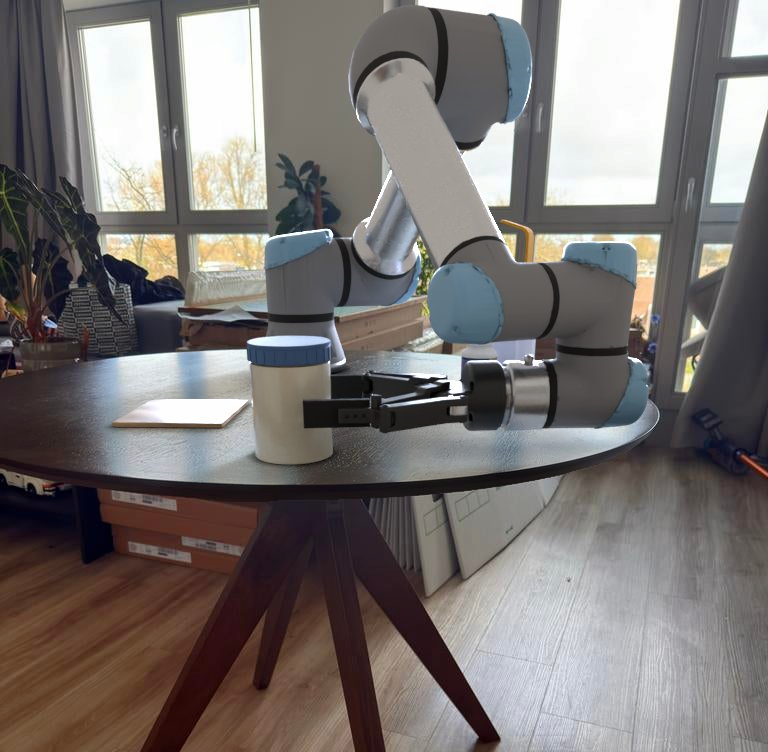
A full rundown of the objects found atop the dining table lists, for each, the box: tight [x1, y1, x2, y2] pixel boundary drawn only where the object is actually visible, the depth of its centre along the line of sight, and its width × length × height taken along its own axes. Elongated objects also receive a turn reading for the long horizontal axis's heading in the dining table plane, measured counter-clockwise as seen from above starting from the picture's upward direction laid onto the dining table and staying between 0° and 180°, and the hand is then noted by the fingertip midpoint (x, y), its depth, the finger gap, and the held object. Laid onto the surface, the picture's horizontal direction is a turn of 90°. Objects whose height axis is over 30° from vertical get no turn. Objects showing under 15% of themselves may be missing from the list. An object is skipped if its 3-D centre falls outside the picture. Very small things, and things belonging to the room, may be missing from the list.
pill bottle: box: [460, 342, 497, 378], centre depth 107 cm, size 5×5×9 cm
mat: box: [111, 398, 249, 429], centre depth 97 cm, size 14×14×1 cm
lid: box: [246, 336, 332, 366], centre depth 75 cm, size 9×9×2 cm
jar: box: [248, 360, 334, 465], centre depth 77 cm, size 8×8×12 cm
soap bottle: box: [492, 219, 537, 365], centre depth 113 cm, size 9×9×25 cm
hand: (304, 399), depth 77 cm, fingers open, 13 cm apart
